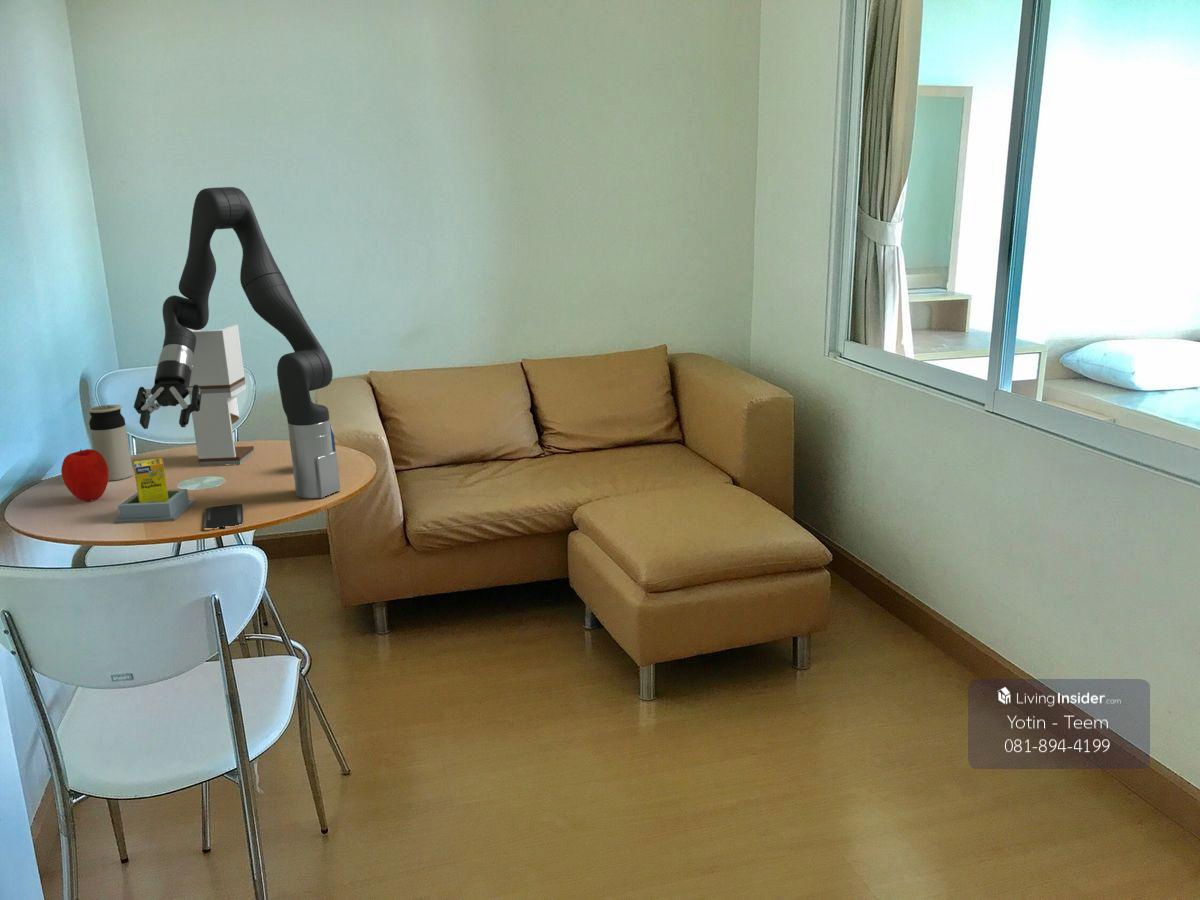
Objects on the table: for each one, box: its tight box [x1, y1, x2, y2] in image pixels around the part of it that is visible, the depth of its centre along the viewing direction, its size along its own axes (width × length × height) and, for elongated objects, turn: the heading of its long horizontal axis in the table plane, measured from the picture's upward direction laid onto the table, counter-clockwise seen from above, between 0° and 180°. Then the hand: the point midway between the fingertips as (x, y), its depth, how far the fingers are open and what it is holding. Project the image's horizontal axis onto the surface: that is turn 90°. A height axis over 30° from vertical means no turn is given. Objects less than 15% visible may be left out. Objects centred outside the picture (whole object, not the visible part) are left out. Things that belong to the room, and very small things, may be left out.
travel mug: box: [87, 404, 134, 482], centre depth 248 cm, size 8×8×18 cm
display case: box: [188, 324, 255, 467], centre depth 259 cm, size 11×11×35 cm
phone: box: [203, 503, 244, 529], centre depth 215 cm, size 8×1×15 cm
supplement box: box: [132, 457, 168, 503], centre depth 219 cm, size 6×6×11 cm
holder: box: [112, 488, 196, 524], centre depth 220 cm, size 13×13×4 cm
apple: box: [60, 448, 109, 502], centre depth 231 cm, size 10×10×12 cm
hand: (163, 426), depth 227 cm, fingers open, 8 cm apart
